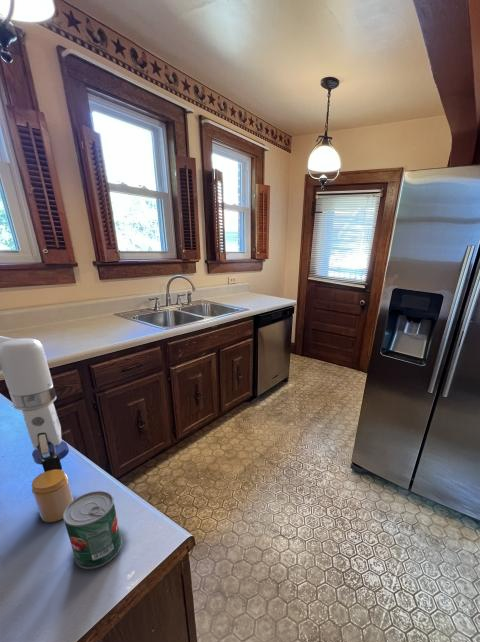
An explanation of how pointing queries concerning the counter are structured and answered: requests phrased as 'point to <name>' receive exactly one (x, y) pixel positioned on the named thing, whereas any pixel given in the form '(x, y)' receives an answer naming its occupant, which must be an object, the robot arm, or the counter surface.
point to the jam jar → (52, 494)
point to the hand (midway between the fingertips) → (53, 461)
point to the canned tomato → (93, 529)
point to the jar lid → (60, 450)
